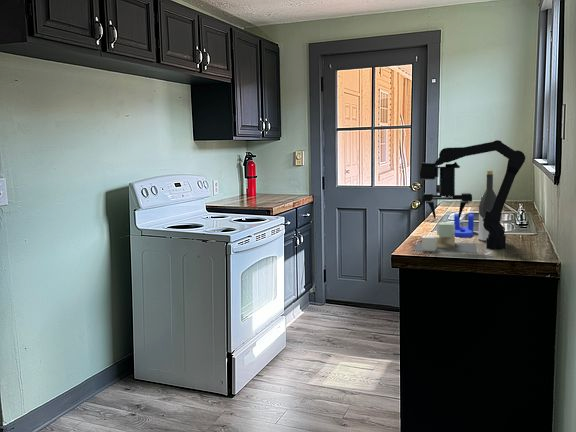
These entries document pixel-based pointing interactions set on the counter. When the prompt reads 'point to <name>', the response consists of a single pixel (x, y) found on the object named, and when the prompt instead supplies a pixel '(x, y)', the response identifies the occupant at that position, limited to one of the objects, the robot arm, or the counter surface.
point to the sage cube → (445, 229)
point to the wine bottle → (486, 206)
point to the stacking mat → (458, 248)
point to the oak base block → (445, 242)
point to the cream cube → (429, 243)
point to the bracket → (464, 230)
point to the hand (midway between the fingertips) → (446, 218)
